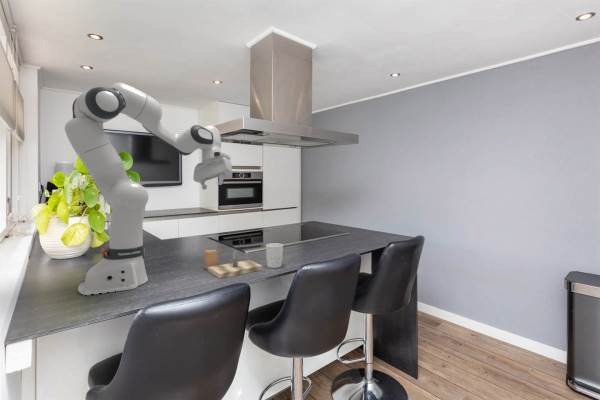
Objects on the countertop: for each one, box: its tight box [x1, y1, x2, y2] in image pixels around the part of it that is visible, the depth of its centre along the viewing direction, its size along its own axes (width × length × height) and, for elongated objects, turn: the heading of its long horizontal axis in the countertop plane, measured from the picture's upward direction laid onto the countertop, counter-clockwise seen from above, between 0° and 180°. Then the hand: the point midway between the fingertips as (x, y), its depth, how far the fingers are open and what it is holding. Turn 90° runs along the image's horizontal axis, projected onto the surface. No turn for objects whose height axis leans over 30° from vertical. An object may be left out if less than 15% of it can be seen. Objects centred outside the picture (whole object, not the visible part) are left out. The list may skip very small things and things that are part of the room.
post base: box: [207, 250, 263, 280], centre depth 132 cm, size 20×12×9 cm, turn 129°
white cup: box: [265, 242, 284, 269], centre depth 140 cm, size 8×8×10 cm
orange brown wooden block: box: [204, 249, 218, 271], centre depth 135 cm, size 4×4×8 cm
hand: (212, 186), depth 137 cm, fingers open, 8 cm apart
